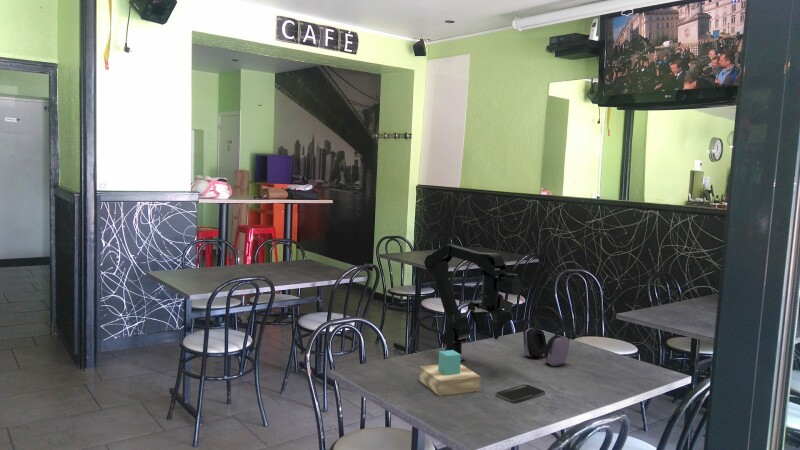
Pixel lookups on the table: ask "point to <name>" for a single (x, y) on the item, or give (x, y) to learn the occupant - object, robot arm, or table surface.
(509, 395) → the phone
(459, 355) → the teal cube
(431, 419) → the table surface
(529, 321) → the headphones
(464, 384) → the oak box
